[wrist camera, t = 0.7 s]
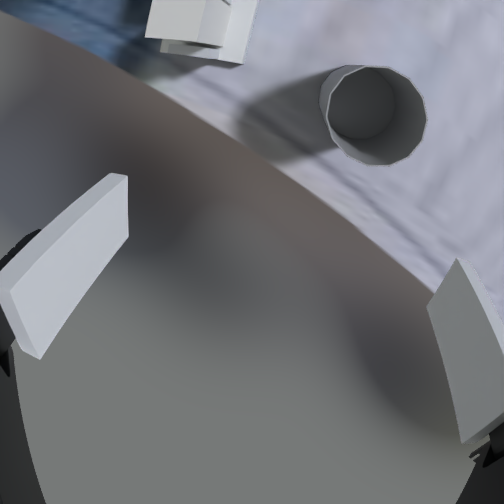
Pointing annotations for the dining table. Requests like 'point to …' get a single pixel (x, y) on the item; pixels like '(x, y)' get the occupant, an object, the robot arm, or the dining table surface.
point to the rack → (236, 37)
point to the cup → (373, 113)
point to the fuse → (189, 21)
